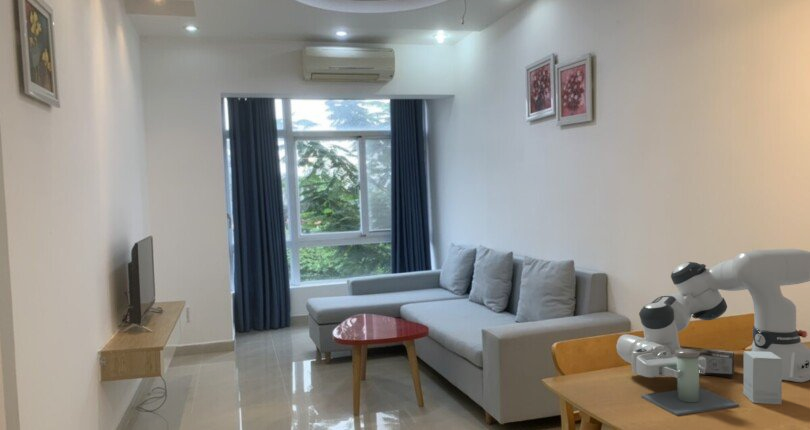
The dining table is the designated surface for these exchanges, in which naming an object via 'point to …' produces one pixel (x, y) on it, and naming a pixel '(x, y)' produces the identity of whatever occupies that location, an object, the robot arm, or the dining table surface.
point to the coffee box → (716, 361)
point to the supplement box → (762, 377)
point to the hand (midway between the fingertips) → (691, 373)
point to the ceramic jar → (688, 375)
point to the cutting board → (679, 407)
